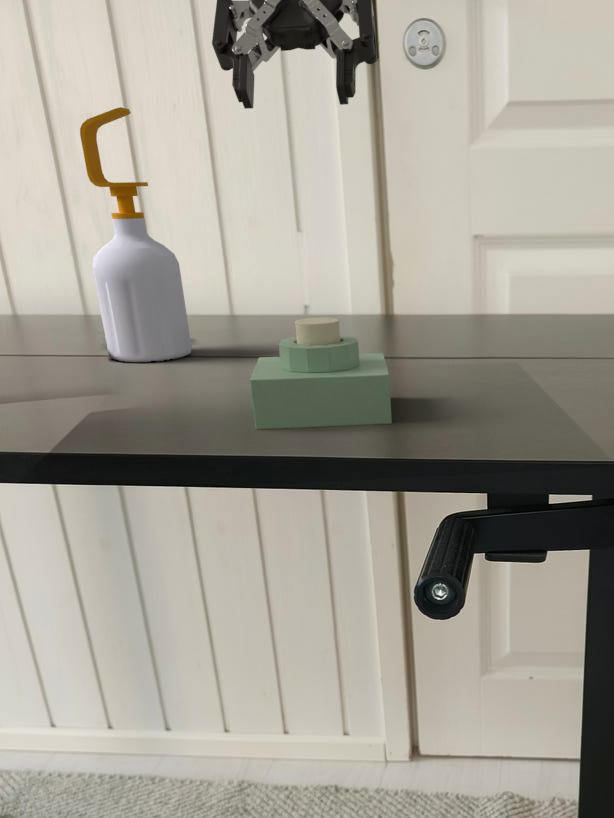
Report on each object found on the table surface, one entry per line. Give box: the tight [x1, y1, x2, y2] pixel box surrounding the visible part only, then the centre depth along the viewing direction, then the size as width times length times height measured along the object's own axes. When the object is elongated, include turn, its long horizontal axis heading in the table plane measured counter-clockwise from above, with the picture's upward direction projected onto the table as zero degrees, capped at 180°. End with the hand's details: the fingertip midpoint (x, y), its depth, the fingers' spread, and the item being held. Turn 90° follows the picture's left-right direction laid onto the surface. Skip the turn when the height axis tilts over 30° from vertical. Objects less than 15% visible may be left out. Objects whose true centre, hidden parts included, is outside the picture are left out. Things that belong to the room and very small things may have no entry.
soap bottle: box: [79, 107, 193, 363], centre depth 99 cm, size 9×9×25 cm
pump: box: [294, 317, 341, 345], centre depth 76 cm, size 4×4×2 cm
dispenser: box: [249, 334, 393, 431], centre depth 78 cm, size 11×10×6 cm
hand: (294, 99), depth 80 cm, fingers open, 8 cm apart
